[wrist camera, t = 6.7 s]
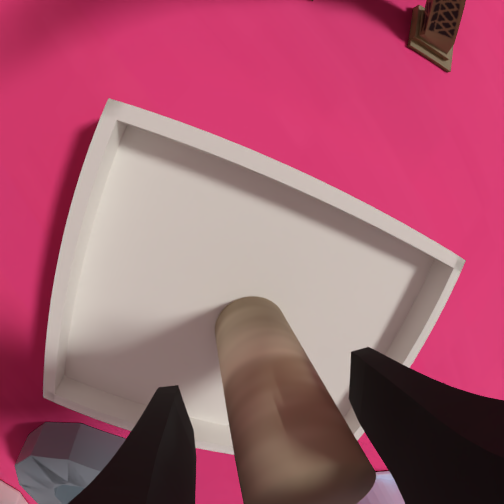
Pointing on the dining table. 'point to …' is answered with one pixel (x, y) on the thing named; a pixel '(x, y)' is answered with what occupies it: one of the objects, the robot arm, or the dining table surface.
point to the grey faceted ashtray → (63, 460)
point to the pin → (283, 414)
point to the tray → (220, 272)
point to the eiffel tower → (436, 30)
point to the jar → (10, 495)
